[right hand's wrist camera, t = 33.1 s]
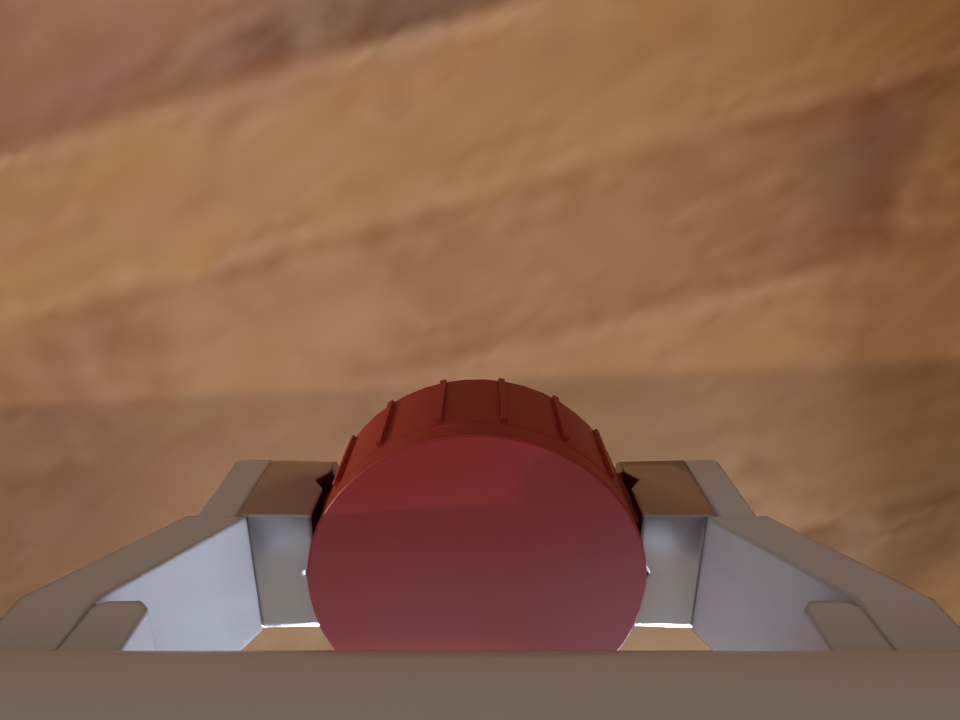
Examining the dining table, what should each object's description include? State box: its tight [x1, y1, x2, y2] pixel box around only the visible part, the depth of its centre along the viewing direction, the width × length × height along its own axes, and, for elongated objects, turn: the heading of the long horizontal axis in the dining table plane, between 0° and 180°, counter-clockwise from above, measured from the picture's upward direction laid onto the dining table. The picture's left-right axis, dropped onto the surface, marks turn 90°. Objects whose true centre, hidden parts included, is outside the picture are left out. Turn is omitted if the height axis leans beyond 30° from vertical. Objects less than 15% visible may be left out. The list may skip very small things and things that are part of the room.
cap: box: [307, 378, 647, 651], centre depth 9 cm, size 4×4×2 cm
